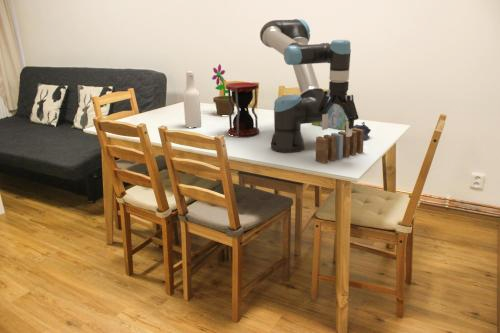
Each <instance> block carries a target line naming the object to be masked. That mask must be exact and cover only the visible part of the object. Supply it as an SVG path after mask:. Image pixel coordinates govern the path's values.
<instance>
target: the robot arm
mask: <svg viewBox="0 0 500 333" xmlns="http://www.w3.org/2000/svg"><path fill="white" fill-rule="evenodd" d="M310 32H311V30H310V26H309V24H308V22H306V21H305V20H304V19H297V18H295V19H274V20H270V21H268V22H266V23H265V24H264V25H263V26H262V27H261V29H260V31H259V39H260V41H261V43H262V44H263V45H264V46H265V47H268V48H272V49H274V50H276V52H278V53H280V54H281V55H282V56H283V60H284V62H285V64H286V65H288V66H292V67H293V70H294V74H295V78H296V81H297V84H298V87H299V91H300V94H296V93H295V94H285V95H282V96H279V97H277V98H276V99H275V100H274V104H273V114H274V115H273V116H274V118H273V119H274V120H273V121H274V122H273V123H274V125H273V126H274V128H273V129H274V131H273V134H272V138H271V141H270V149H271V150H272V151H274V152H279V153H295V152H296V153H297V152H300V151H303V150H304V149H305V141H304V138H303V134H302V132H301V131H302V130H301V128H302V127H301V126H302V125H304V124H312V123H317V122H319V123H320V122H322V126H321V130H322V131H324V130H328V129H329V127H328V120H329V119H330V118H331V116H332V112H333V104H337V105H340V106H341V107H342V108H343V110H344V112H345V114H346V116H347V118H348V121H347V125H346V137H349V136H352V129H353V128H354V126H355V121H356V120H359V114H358V111H357V108H356V105H355V101H354V99H355V98H354V95H353V94H349V95H348V91H349V85H350V84H349V80H350V66H351V52H352V50H351V41H350V40H348V39H334V40H332V41H331V42H322V43H318V44H317V43H315V44H309V41H310V39H311V34H310ZM313 64H329V77H328V78H329V82H328V90H324V89H323V88H322V87H320V86H319V83H318V79H317V76H316V73H315V70H314V66H313Z"/></svg>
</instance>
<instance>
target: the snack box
mask: <svg viewBox="0 0 500 333" xmlns="http://www.w3.org/2000/svg"><path fill="white" fill-rule="evenodd" d="M347 121H348V118H347V116H346V114H345V112H344V110H343V108H342V107H341V106H340V105H337V104H333V112H332V116H331V118H330V119H329V120H328V129H329V128H330V129H336V130H340V131H345V130H346V125H347ZM311 125H312V126H317V127H322V122H320V123H319V122H317V123H311Z"/></svg>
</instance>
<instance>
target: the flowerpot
mask: <svg viewBox="0 0 500 333" xmlns="http://www.w3.org/2000/svg"><path fill="white" fill-rule="evenodd" d="M212 70H213V72H214V75H213V76H212V77H211V80H216V81H215V82H216V83H215V84H216V87H215V88H214V89H215V90H218V91H221V90H223V95H219V96H215V97H213V98H212V99H213V103H215V109H216V114H218V115H217V116H219V115H230V113H231V111H232V108H231V105H230V104H229V100H228V95H226V94H228V89H226V84H225V78H224V77H223V75H224V74H225V73H226V70H223V69H222V65H221V64H220V63H219V64H218V66H217V68H216V67H213V68H212ZM220 81H221V82H222V84H220ZM230 97H231V103H232V104H233V106H234V107H235V106H236V104H235V103H234V101H233V99H232V95H230ZM232 114H233V115H234V114H235V111H234V112H233V113H232Z"/></svg>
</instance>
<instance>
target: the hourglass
mask: <svg viewBox="0 0 500 333" xmlns="http://www.w3.org/2000/svg"><path fill="white" fill-rule="evenodd" d="M258 88H259V84H258V83H256V82H250V81H244V82H242V81H241V82H230V83H227V84H225V90H228V93H227V96H228V100H229V104H230V105H231V108H232V111H231V113H230V115H229V116H228V117H229V120H228V121H229V129H228V130H227V133H228V135H229V134H230V135H233V136H232V137H234V136H238V137H237V138H249V136H250V137H254V136H257V135H259V134H260V129H259V128H258V115H257V113H256V112H255V108H256V106H257V105H258V104H257V103H258V93H257V92H258ZM230 96H232V99H233V101H234V103H235V105H234V106H233V104H232V103H231V97H230ZM253 100H254V104H253V105H252V107H251V112H252V115H253V116H254V118H255V119H254V118H253V116H252V115H251V113H250V110H249V105H250V104H251V103H252V101H253ZM235 107H236V112H237V114H235V116H234V118H233V119H232V116H233V115H232V113H233V112H234V113H235ZM254 120H255V123H254ZM230 135H229V136H230Z"/></svg>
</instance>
